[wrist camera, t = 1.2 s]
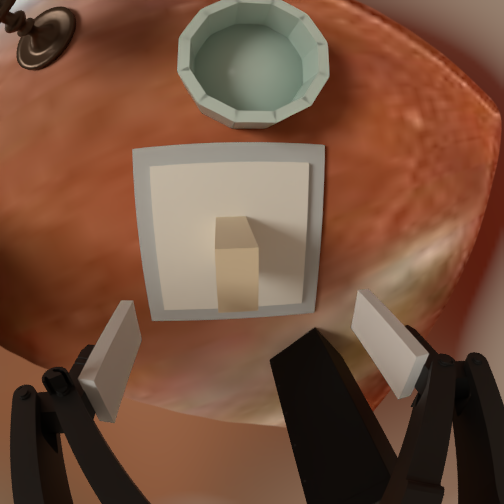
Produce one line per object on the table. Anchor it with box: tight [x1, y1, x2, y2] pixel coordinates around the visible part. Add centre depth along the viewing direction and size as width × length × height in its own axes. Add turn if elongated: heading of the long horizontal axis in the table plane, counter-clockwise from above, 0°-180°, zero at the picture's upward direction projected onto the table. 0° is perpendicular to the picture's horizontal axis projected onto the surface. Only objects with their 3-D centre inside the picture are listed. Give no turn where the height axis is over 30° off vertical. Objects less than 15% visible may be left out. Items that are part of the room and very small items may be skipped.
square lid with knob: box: [150, 162, 309, 313], centre depth 26 cm, size 16×16×11 cm
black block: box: [270, 328, 398, 504], centre depth 25 cm, size 8×8×28 cm
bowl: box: [177, 0, 329, 129], centre depth 23 cm, size 13×13×6 cm
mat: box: [132, 142, 325, 321], centre depth 31 cm, size 20×20×1 cm
